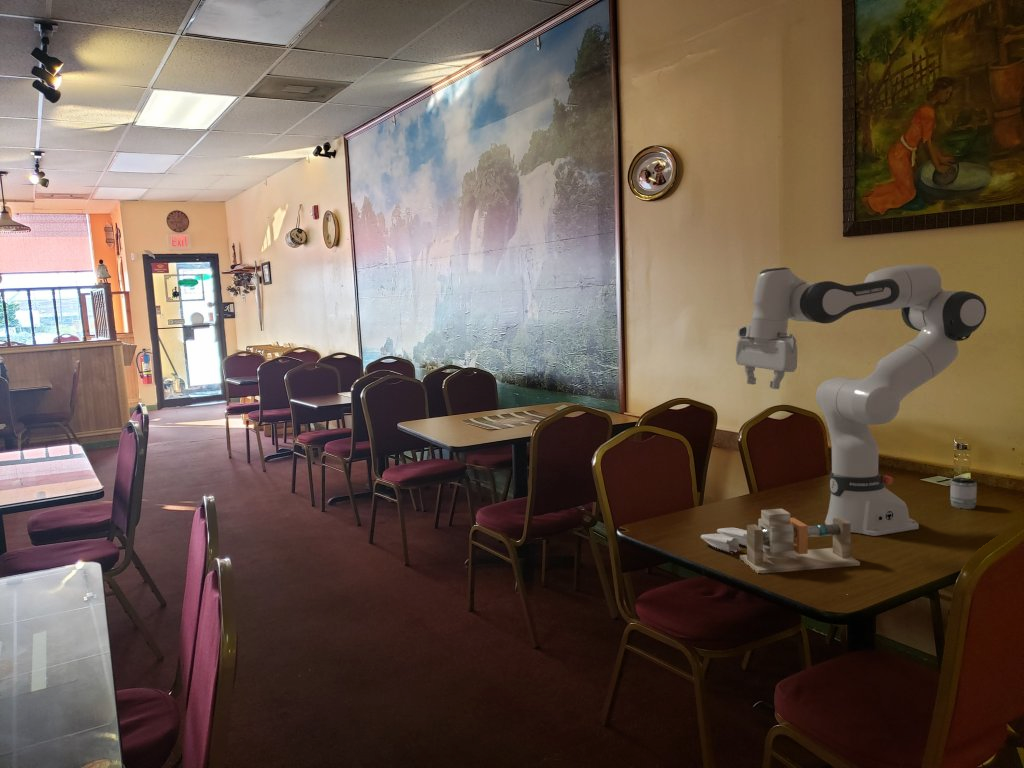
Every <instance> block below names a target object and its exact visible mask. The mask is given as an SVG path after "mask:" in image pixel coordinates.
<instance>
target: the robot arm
mask: <svg viewBox="0 0 1024 768" xmlns="http://www.w3.org/2000/svg"><path fill="white" fill-rule="evenodd" d="M753 291H754V292H753V297H752V299H753V300H752V303H753V304H752V305H753V312H752V316H751V318H750V323H748V324H746V325H744V326H742V327H740V328H738V330H737V337H738V339H737V341H736V349H735V350H736V351H735V361H736V364H737V365H738V366H739V365H740V366H744V373H745V375H746V384H748V385H756V384H757V383H756V382H757V377H755V373H754V372H755V370H756V368H757V369H765V370H770V371H773V375H774V376H773V379H772V380H771V381H770V382H769V388H770V389H773V390H779V389H780V387H781V382H782V380H783V379H784V377H785V375H786V374H785V372H786V373H794V372H795V371H796V369H797V367H798V347H797V339H796V338H795V336H794V335H793V333H788V326H789V325H788V324H789V319H790V320H793V321H796V322H810V323H812V322H813V323H819V324H824V325H825V324H831V323H834V322H836V321H838V320H840V319H841V318H843V317H844V316H845V315H847V314H849V313H852V312H854V311H855V312H856V311H860V310H864V309H865V310H866V309H872V310H875V311H876V310H877V311H889V310H890V311H891V310H892V311H893V310H894V311H895V310H899V309H901V310H900V311H901V318H902V320H903V322H904V324H905V325H906V326H907V327H908V328H910V329H911V330H914V331H917V332H919V333H918V334H917V336H916V337H914V338H913V339H912V340H910V341H908V342H906V343H905V344H903V345H902V346H900V347H898V348H897V349H895V350H893V351H892V352H889V353H888V354H887V355H885V356H884V357H882V358H880V359H879V360H878V361H877V363H876V364H875V369H874V371H872V373H870V374H869V375H868V376H866V377H863V378H857V379H856V378H850V377H844V376H840V377H839V376H838V377H833V378H830V379H826V380H824V381H822V382H821V383H820V384H819V385H818V387H817V389H816V393H815V401H816V404H817V406H818V407H819V409H820V410H821V412H822V413H823V416H824V418H825V419H824V420H825V422H826V426H827V431H828V432H829V439H830V444H831V471H829V489H830V490H829V492H830V497H829V499H830V500H829V505H828V509H827V514H826V518H825V520H824V525H830V524H833V519H835V518H842V519H844V520H846V521H848V522H850V523H851V533H855V534H856V533H857V534H863V535H867V536H872V537H873V536H874V537H876V536H877V537H878V536H882V535H888V534H895V533H901V532H902V533H903V532H908V531H915V530H919V528H920V527H919V522H917V521H916V520H914V519H912V518H910V515H909V509H908V506H907V503H906V502H905V501H904V500H902V499H901V498H900V497H899V496H897V495H896V494H895V493H893V492H891V491H890V489H888V488H886V486H885V484H887V485H892V483H893V482H894V478H893V477H892V476H889V475H887V474H885V475H883V474H881V473H879V445H878V442H877V440H876V439H875V438H874V436H873V435H872V432H871V430H870V427H869V426H870V425H871V426H873V425H878V426H879V425H884V424H888V423H890V422H892V421H893V420H895V418H896V416H897V415H898V413H899V410H900V406H901V405H900V404H901V402H902V400H903V399H904V398H905V397H906V396H907V395H909V394H910V393H912V392H913V391H915V390H917V388H919V387H921V386H922V385H924V384H926V383H927V382H929V381H930V380H932V379H934V378H935V377H937V376H938V375H939V374H941V373H942V372H944V370H946V369H947V368H948V367H949V366H950V365H951V364H952V363H953V362H954V361H955V360H956V359H957V357H958V355H959V347H958V343H957V342H962V341H966V340H968V339H969V338H970V336H971V335H972V333H974V332H975V331H977V330H978V329H979V328H980V327H981V325H982V324H983V322H984V320H985V319H986V315H987V304H986V303H985V300H984V299H983V298H982V297H981V296H980V295H978V294H976V293H973V292H969V291H966V290H965V291H964V290H963V291H956V290H944V289H943V288H942V278H941V275H940V273H939V271H938V270H937V269H936V268H934V267H933V266H930V265H926V264H903V265H901V264H900V265H895V266H894V265H893V266H889V267H884V268H880V269H877V270H875V271H872V272H869V273H868V274H867V275H866V276H865V279H864V281H863V282H861V283H860V282H859V283H853V284H849V285H845V284H842V283H839V282H835V281H831V280H827V281H825V280H824V281H819V282H807V281H805V280H803V279H801V277H798V276H797V275H795V273H794V272H793V271H792V269H791V268H789V267H785V266H784V267H775V268H774V267H773V268H765V269H762V270H761V271H760V272H759V273H758V275H757V278H756V281H755V286H754V290H753Z"/></svg>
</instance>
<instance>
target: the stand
mask: <svg viewBox="0 0 1024 768" xmlns="http://www.w3.org/2000/svg"><path fill="white" fill-rule="evenodd" d="M833 524H838V525H839V527H840V530H841V532H840V534H839V535H832V547H828V548H816V549H815V548H813V549H808V554H798V553H797V552H795V551H794V556H790V557H778V558H772V557H770V556H769V555H768V554H766V553H765V552H764V551H763V529H761V528H760V527H758V525H757V524H746V531H747V546H746V554H740V555H739V559H740V560H741V561H742V560H743V561H744V562H743V561H742V562H743V563H745V564H746V565H747V566H748V565H749V566H750V568H751V569H752V570H753V571H754V570H755V571H754V572H755V573H757V574H758V573H761V574H773V573H785V572H794V571H795V572H797V571H806V570H808V571H809V570H819V569H831V568H832V569H833V568H845V567H855V566H857V567H858V566H861V562H860V560H857V559H856V558H854V557H853V556H851V547H852V545H851V541H852V540H851V537H852V536H851V533H852V532H851V523H850V522H848V521H846V520H844V519H842V518H835V519H833ZM749 566H748V567H749Z"/></svg>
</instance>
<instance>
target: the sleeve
mask: <svg viewBox="0 0 1024 768" xmlns="http://www.w3.org/2000/svg"><path fill="white" fill-rule="evenodd" d="M760 512H761V514H760V516H761V517H760V518H758V523H757V524H758V525H757V526H758V527H760V528H761V529H763V530H765V529H767V530H768V531H770V540H767V541H763V553H766V554H768V555H769V556H770V557H772V558H778V557H790V556H794V540H793V526H792V525H791V524H790V518H791V513H790V512H789V511H787V510H786V509H783V508H772V509H761V510H760Z"/></svg>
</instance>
